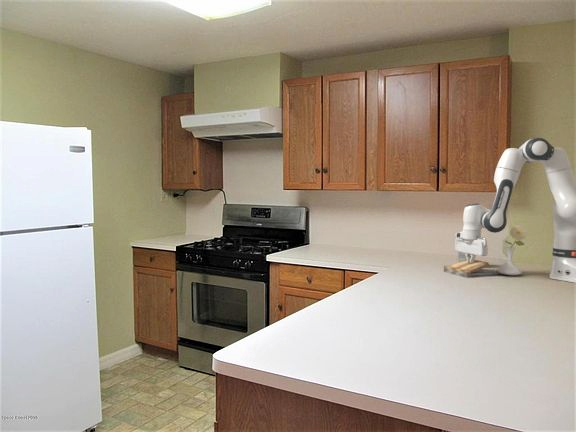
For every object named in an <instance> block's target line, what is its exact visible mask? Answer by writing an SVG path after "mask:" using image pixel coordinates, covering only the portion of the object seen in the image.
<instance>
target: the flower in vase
mask: <svg viewBox="0 0 576 432" xmlns="http://www.w3.org/2000/svg"><path fill="white" fill-rule="evenodd" d="M527 234H528V231H527V230H526V229H525V227H524V226H521V225H515V226H512V227H511V228H510V231H509V235H510V237H511V238H512V239H514V240H515V241H514V242H513V244H512V242H509V241H508V240H505V243H506V244H507V245H511V246H504V249H505V251H506V254H507V255H506V256H507V257H506V261H505V263H503V264H502V265H501V266H499V267H498V268H497V269H496V272H498V274H500V275H505V276H519V275H521V274H522V273H523V271H522V270H521V269H520V267H518V266H517V265H516V264H515V263H514V262H513V256H514V255H513V254H514V251H515V250H516V247H513V246H514V245H515V244H516V245H517V246H525V243H524V242H523V241H522V240H525V239H527V238H526V237H527V236H528V235H527Z"/></svg>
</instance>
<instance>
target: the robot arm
mask: <svg viewBox="0 0 576 432" xmlns="http://www.w3.org/2000/svg"><path fill="white" fill-rule="evenodd" d="M535 162H536V163H537V162H540V163H541V164H542V165H543V167H544V170H545V176H546V179H547V183H548V186H549V189H550V191H551V193H552V195H553V199H554V200H555V201H554V202H553V204H552V206H551V211H552V221H553V222H552V223H553V229H554V230H553V231H554V233H553V234H554V235H553V236H554V237H553V247H552V251H551V252H552V263H551V266H550V267H551V268H550V271H549V274H548V277H549V278H550V279H552V280H558V281H563V282H570V283H575V284H576V179H575V177H574V171H573V169H572V164H571V161H570V158H569V156H568V154H567V152H566V150H565V149H564V148H563V147H556V146H555V147H554V146H553V145H552V144H551V143H550V142H549V141H548V140H546V139H545V138H543V137H534V138H530V139H528V140H526V141H525V142H523V143H522V144H521V145H519V147H516V148H515V147H510V148H506V149H505V150H504V151H503V153H502V155H501V156H500V159H499V160H498V161H497V165H496V168H495V171H494V176H493V183H494V185H495V187H496V194H495V198H494V201H493V204H492V208H491V209H489V208H487V207H485V206H484V205H482V204H481V203H470V204H466V206H465V207H464V209H463V215H462V216H463V217H462V222H463V226H462V231H459V232H456V233H455V234H454V235H455V240H454V249H455V251H456V252H458V251H459V252H463V253H465V255H466V258H467V262H469V263H474V260H476V257H478V256H479V257H487V255H488V249H489V248H488V243H487V242H488V241H487V239H486V238H485V237H483V236H482V229H485V230H487V231H488V232H490V233H494V234H495V233H500V232H501V231H504V230H505V228H506V226H507V220H508V219H507V210H508V208H509V207H508V206H509V203H510V200H511V196H512V193H513V191H514V188H515V186H516V184H517V181H518V180H519V177H520V174H521V171H522V168H523V166H524V164H525V163H535ZM470 255H471V258H470Z"/></svg>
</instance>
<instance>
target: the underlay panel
mask: <svg viewBox="0 0 576 432" xmlns="http://www.w3.org/2000/svg"><path fill="white" fill-rule="evenodd" d="M443 272H444V273H448V274H453V275H456V276H459V277H463V278H476V277H477V278H478V277H494V276H498V274H499V273H498V272H497V271H493V270H491V269H490V270H489V269H485V268H482V269H480V270H477V271H475V272H473V273H470V271H468V270H464V269H460V268H455V267H451V266H450V265H444V266H443Z"/></svg>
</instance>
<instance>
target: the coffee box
mask: <svg viewBox="0 0 576 432" xmlns="http://www.w3.org/2000/svg"><path fill="white" fill-rule="evenodd" d="M470 258H471V255H470ZM464 259H467V258H466V255H465V253H463V252H459V251H457V262H460V261H462V260H464Z"/></svg>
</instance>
